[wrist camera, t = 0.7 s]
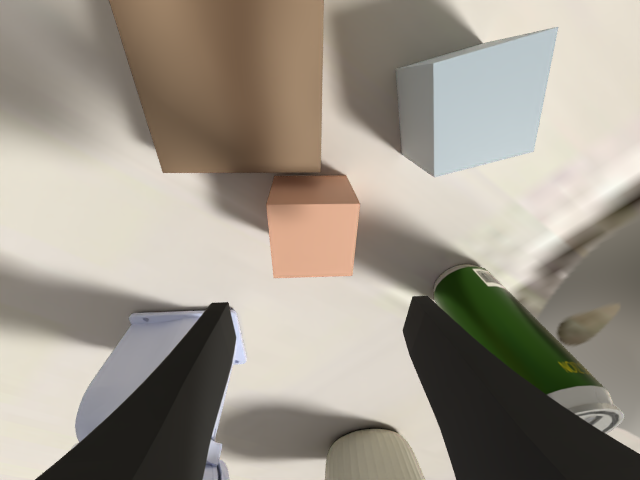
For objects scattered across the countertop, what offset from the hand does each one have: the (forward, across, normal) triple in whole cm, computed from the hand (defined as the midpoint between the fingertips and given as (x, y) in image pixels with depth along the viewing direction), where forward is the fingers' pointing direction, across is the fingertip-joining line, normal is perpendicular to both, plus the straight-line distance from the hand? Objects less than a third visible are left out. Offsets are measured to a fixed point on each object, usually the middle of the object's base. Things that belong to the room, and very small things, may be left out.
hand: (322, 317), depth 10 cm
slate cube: (+10, -8, -7) cm, 15 cm away
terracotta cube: (+10, 0, 0) cm, 11 cm away
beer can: (+11, -14, +8) cm, 19 cm away
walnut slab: (+10, +4, -8) cm, 14 cm away
